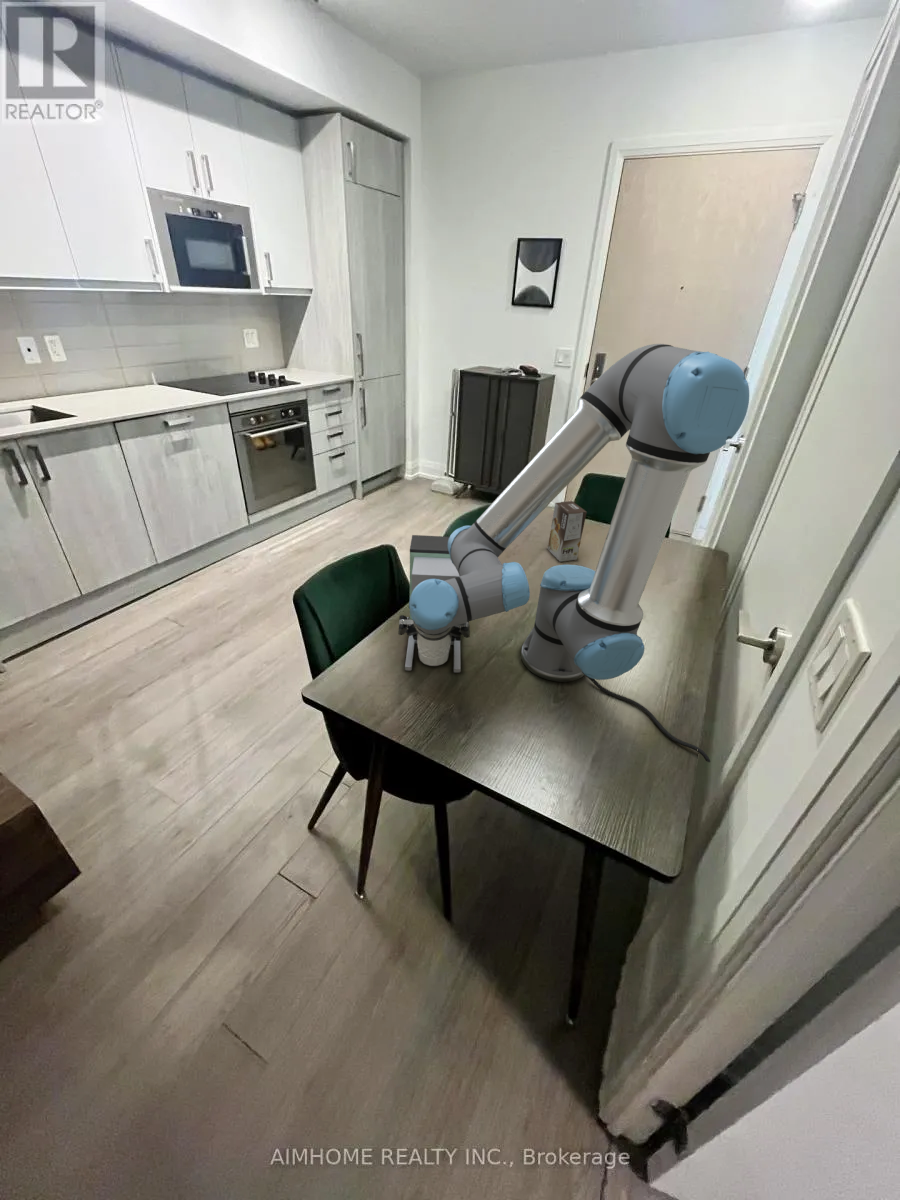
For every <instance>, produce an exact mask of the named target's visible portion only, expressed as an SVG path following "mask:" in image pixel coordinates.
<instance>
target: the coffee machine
mask: <svg viewBox="0 0 900 1200" xmlns="http://www.w3.org/2000/svg"><path fill="white" fill-rule="evenodd" d="M449 538H450V536H446V535H445V536H444V535H443V536H442V535H423V534H422V535H421V534H412V535H411V539H410V544H409V545H410V546H409V597H410V596H411V594H412V592H413V590H414V588H415V587H416V586H417V585H418V584H419V583H421V582H423V581H425V580H428V579H439V580H443V581H445V580H449V579H453V578H456V577H459V573H458V571H457V569H456V567H455V566H454V564H453V563H452V561H451V559H450V554H449V551H448V540H449ZM409 620H412V617H411V613H410V612H409ZM415 644H418V643H417V640H414V639H413V635H411V636H409V635H408V641H407V650H406V656H405V657H406V658H405V665H404V671H411V672H412V670H413V660H414V652H415ZM450 646H453V673H461V641H454V642H452V641H451V643H450Z"/></svg>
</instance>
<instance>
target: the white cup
mask: <svg viewBox="0 0 900 1200" xmlns="http://www.w3.org/2000/svg"><path fill="white" fill-rule="evenodd" d="M450 643H451V635H447V636H446V637H445V638H443V639H441V640H437V641H430V640H427V639H424V638H423V637H421V636H420V635H419V634H417V643H416V644H417V649H418V651H417V653H418V658H419V661H420V662H421V663H422V664H424V665H426V666H429V667H438V666H441V665H444V664H445V663H446V662H447V661H448V659H449V656H450V650H451V645H450Z"/></svg>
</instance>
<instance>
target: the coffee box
mask: <svg viewBox="0 0 900 1200" xmlns="http://www.w3.org/2000/svg"><path fill="white" fill-rule="evenodd" d="M587 513H588V512H587V511H586V510H585V509H584V508H582V507H581V506H579V504H577V503H575V502H574V501H572V500H568V501H561V502H555V503H554V508H553V514H552V518H551V525H550V532H549V537H548V544H547V550H548V551H549V553H551V555H552V556H553V557H554V558H556V560H557V561H559V562H567V561H568V562H571V561H577V559H578V557H579V556H578V555H579V550H580V546H581V542H582V536H583V531H584V527H585V522H586V517H587Z"/></svg>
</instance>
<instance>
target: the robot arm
mask: <svg viewBox="0 0 900 1200" xmlns="http://www.w3.org/2000/svg"><path fill="white" fill-rule="evenodd" d="M749 386H750V385H749V382H748V380H747V379H746V376H745V373H744V371H743V369H742V368H741V367H740V366H739V365H738V364H737V363H736V362H735V361H733V360H731V359H729V358H726V357H723V356H720V355H719V354H717V353H713V352H710V351H701V350H694V349H690V348H689V349H688V348H684V347H678V346H673V345H671V344H666V343H652V344H646V345H644V346H641V347H638V348H636V349H633V350H632V351H631V352H629V353H627V354H626V355H624V356H622V357H621V358H620V359H619V360H617V361H616V362H615V363H613V364H612V365H610V367H609V368H607V370H605V371H604V372H603V373H602V374H601V375H600V376H599V377H598V378H597V379H596V380H595V381H594V382H593V383H592V384H591V385H589V387H588V388H587V390H586V391H584V393H583V394H582V395H581V396H580V397H579V398H578V399H577V406H576V407H577V409H576V411H574V413H573V414H572V415H571V416H570V417H569V418H568V420H566V421H565V423H564V424H563V425H562V426H561V427H560V428H559V429H558V431H556V433H555V434H553V436H552V437H551V438H550V439H549V440H548V442H547V443H546V444H544V446H543V447H542V448H541V449H540V450H539V451H538V452H537V453H536V455H534V457H532V459H531V460H530V461H529V462H528V463H527V464H526V466H525V467H524V468H523V469H522V470H521V471H520V472H519V473H518V474H517V475H516V477H514V479H512V480H511V482H510V483H509V484H508V485H507V486H506V488H504V489H503V491H502V492H501V493H500V494H499V495H498V496H497V497H496V498H495V500H493V502H492V503H491V504H490V505H489V506H488V507H487V508H486V509H485V511H484V512H483V513H482V514H481V515H480V516H479V517H478V518H477V519H476V520H475V522H473V523H472V525H462V526H461V527H458V528H456V529H454V530H453V532H452V533H451V534H450V536H449V537H450V538H449V540H448V551H449V554H450V559H451V561H452V563H453V564H454V566H455V567H456V569H457V571H458V573H459V577H456V578H453V579H449V580H445V581H443V580H439V579H428V580H425V581H423V582H421V583H419V584H418V585H417V586H416V587H415V588H414V590H413V592H412V594H411V596H410V595H409V602H408V609H409V614H410V613H411V617H412V620H410V616H406V615H403V614H401V615H399V617H398V618H399V619H398V632H397V633H398V635H399V636H404V635H405V634H406V635H407V636H408V637H409V636H411V635H413V639H414V640H417V634H419V635H420V636H421V637H423V638H424V639H427V640H430V641H437V640H441V639H443V638H445V637H446V636H447V635H451V641H452V642H454V641H460V642H462V637H463V638H471V636H470V635H471V634H470V633H471V630H470V629H471V625H470V622H472V621H475V620H478V619H482V618H487V617H490V616H493V615H494V616H495V615H498V614H502V613H507V612H509V611H510V610H513V609H516V608H520V607H522V606H525V605H527V603H528V602H529V600H530V596H531V592H530V585H529V581H528V577H527V575H526V572H525V569H524V568H523V566H522V565H521V563H519V562H516V561H511V562H503V563H502V562H501V561H500V559H499V557H500V556H501V555H502V554H503V553H504V552H505V550H507V548H508V547H509V546H511V544H512V543H514V541H515V540H516V539H517V538H518V537H519V536H521V534H522V533H523V532H524V531H525V530H526V528H527V527H528V526H529V525H531V523H533V521H535V520H536V518H537V517H538V516H539V515H540V514H541V513H542V512H543V511H544V510H545V509H546V508H547V507H548V506H549V505H550V504H551V503H552V502H553V500H554V499H556V498H557V496H558V495H559V494H560V493H562V492H563V490H564V489H565V488H566V487H567V486H568V485H570V483H571V482H572V481H573V480H574V479H575V478H576V477H577V476H578V475H579V474H580V472H582V471H583V470H584V468H586V466H587V465H589V463H590V462H591V461H592V460H594V458H595V457H596V456H597V455H598V454H599V453H600V452H601V451H602V450H603V449H604V448H605V447H606V446H607V445H608V444H609V443H611V442H613V441H619V440H621V439H622V438H623V437H624V436H625V435H626V434H627V433H628V436H627V439H626V443H625V447H626V449H627V451H628V453H629V454H630V457H631V459H630V460H631V461H630V464H629V467H628V470H627V473H626V476H625V479H624V482H623V485H622V488H621V491H620V494H619V497H618V500H617V503H616V507H615V509H614V512H613V515H612V518H611V521H610V524H609V528H608V531H607V534H606V537H605V541H604V543H603V546H602V550H601V553H600V556H599V559H598V561H597V565H596V568H595V570H594V569H592V568H589V567H586V566H583V565H579V564H578V565H577V564H557V565H554V566H551V567H549V568H548V569H546V570H545V571H544V573H543V576H542V578H541V582H540V585H539V586H540V588H539V594H538V600H537V607H536V613H535V617H534V618H535V619H534V624H533V627H532V628H531V631H530V632H529V634H528V635H527V636H526V638H525V640H524V641H523V644H522V646H521V652H520V658H521V661H522V663H523V665H524V666H525V667H526V668H527V670H528V671H530V672H531V673H532V674H534V675H535V676H537V677H540V678H542V679H544V680H548V681H552V682H556V683H557V682H559V683H567V682H574V681H577V680H579V679H581V678H582V677H584V676H585V677H587V679H589V681H591V682H592V683H593V684H594V685H595V686H596V687H597V688H598V689H599V690H600V691H602V692H604V693H605V694H607V695H608V696H612V697H614V698H616V699H619V700H622V701H624V702H626V703H629V704H632V705H633V706H636V707H637V708H638V709H640V710H642V711H643V712H644V713H645V714H646V715H647V716H648V717H649V718H650V720H652V722H653V723H654V724H655V725H656V726H657V728H658V729H659V730H660V731H661V732H662V733H663V734H664V735H665V736H666V737H667V738H669V739H670V740H671V741H672V742H674V743H676V744H679V745H681V746H684V747H686V748H689V749H692V750H693V751H696V752H697V753H699V754H700V755H701V756H702V758H703V759H704V760H705V761H706V762H707V763H711V760H710V758H709V756H708V754H706V752H705V751H704V750H703V749H702V748H700V747H698V746H697V745H695V744H692V743H688V742H686V741H683V740H681V739H679V738H677V737H675V736H674V735H672V734H671V733H670V731H668V730H666V728H665V727H663V725H662V724H661V722H660V721H659V720H658V719H657V718H656V717H655V715H653V713H652V712H651V711H650V710H649V709H647V708H646V707H645V706H644V705H643V704H641V703H639V702H637V701H636V700H634V699H631V698H629V697H626V696H623V695H620V694H617V693H615V692H612V691H610V690H609V689H607V688H605V687H603V686H602V685H601V684H600V683H599V682H598V681H605V680H612V679H615V678H618V677H621V676H622V675H624V674H626V673H628V672H629V671H631V670H632V669H633V668H635V667H636V666H637V665H638V664H639V663H640V661H641V660H642V658H643V657H644V654H645V649H646V648H645V644H644V642H643V639H642V637H641V636H639V635H638V631H639V629H640V628H639V627H640V626H641V623H642V621H643V618H644V610H643V608H642V606H641V605H640V601H641V599H642V595H643V593H644V590H645V588H646V586H647V583H648V581H649V577H650V575H651V574H652V573H651V572H652V570H653V568H654V565H655V562H656V560H657V557H658V555H659V553H660V550H661V548H662V545H663V542H664V540H665V537H666V536H667V531H668V529H669V527H670V524H671V522H672V520H673V518H674V514H675V512H676V510H677V507H678V504H679V502H680V499H681V497H682V494H683V492H684V489H685V487H686V484H687V481H688V479H689V476H690V474H691V472H692V471H693V470H696V469H697V468H700V467H701V466H703V465H705V464H706V463H707V461H708V458H709V456H710V454H711V453H712V452H715V451H717V450H719V449H721V448H723V447H724V446H725V445H726V444H727V441H728V440H732V439H733V438H734V437H735V435H736V434H737V433H738V432H739V430H740V428H741V427H742V425H743V423H744V421H745V419H746V416H747V413H748V409H749V403H750V387H749ZM597 680H598V681H597ZM697 749H698V751H697Z"/></svg>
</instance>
